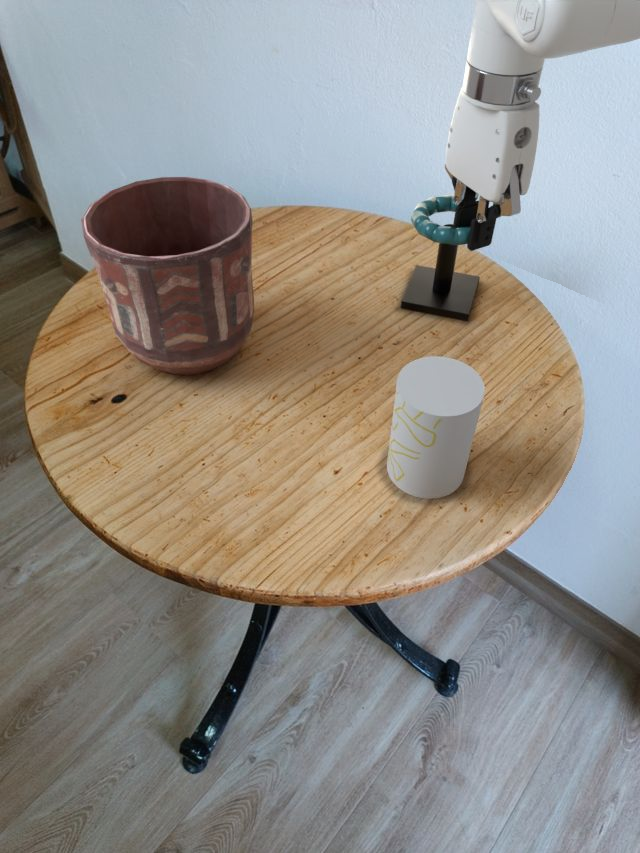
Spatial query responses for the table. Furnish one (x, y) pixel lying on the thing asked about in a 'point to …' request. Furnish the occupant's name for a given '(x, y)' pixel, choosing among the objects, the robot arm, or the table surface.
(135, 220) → the pottery
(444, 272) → the peg stand
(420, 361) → the grey cylinder
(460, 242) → the ring
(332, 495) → the table surface
